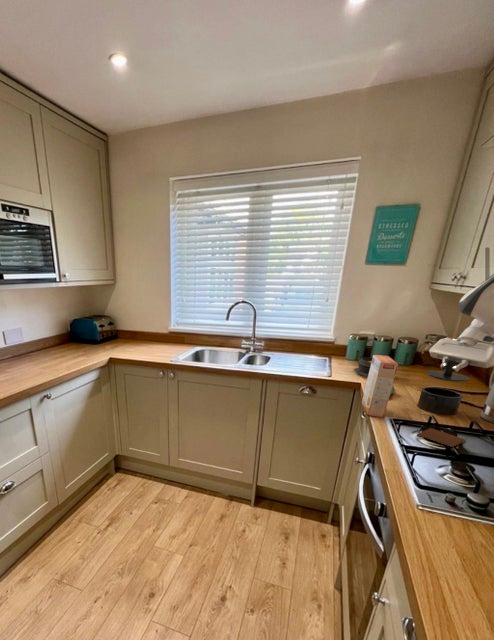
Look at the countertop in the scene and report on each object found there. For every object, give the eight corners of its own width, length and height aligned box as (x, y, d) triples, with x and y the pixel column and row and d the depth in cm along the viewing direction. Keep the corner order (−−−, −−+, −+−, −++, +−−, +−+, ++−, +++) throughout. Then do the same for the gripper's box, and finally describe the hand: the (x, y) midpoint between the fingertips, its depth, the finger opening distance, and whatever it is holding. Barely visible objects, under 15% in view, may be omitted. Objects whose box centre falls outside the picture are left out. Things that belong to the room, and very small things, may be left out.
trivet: (464, 441, 106) (465, 439, 106) (452, 448, 101) (452, 447, 101) (429, 429, 114) (430, 427, 114) (416, 436, 109) (416, 434, 109)
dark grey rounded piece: (394, 384, 164) (398, 367, 161) (353, 378, 172) (356, 363, 169) (390, 372, 185) (394, 358, 182) (353, 368, 193) (356, 354, 190)
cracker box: (384, 418, 123) (399, 363, 115) (366, 415, 124) (379, 361, 117) (377, 405, 135) (389, 355, 128) (361, 403, 137) (372, 353, 130)
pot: (463, 413, 129) (470, 393, 126) (444, 423, 120) (451, 401, 117) (427, 403, 139) (433, 384, 136) (407, 411, 129) (413, 391, 126)
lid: (474, 379, 122) (480, 362, 120) (460, 385, 116) (466, 366, 113) (434, 371, 133) (438, 355, 130) (419, 376, 126) (423, 359, 124)
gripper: (440, 331, 130) (417, 357, 130) (504, 340, 113) (478, 370, 112) (444, 342, 134) (422, 367, 133) (506, 352, 116) (481, 381, 116)
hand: (448, 369), depth 123 cm, fingers closed on lid, 2 cm apart
